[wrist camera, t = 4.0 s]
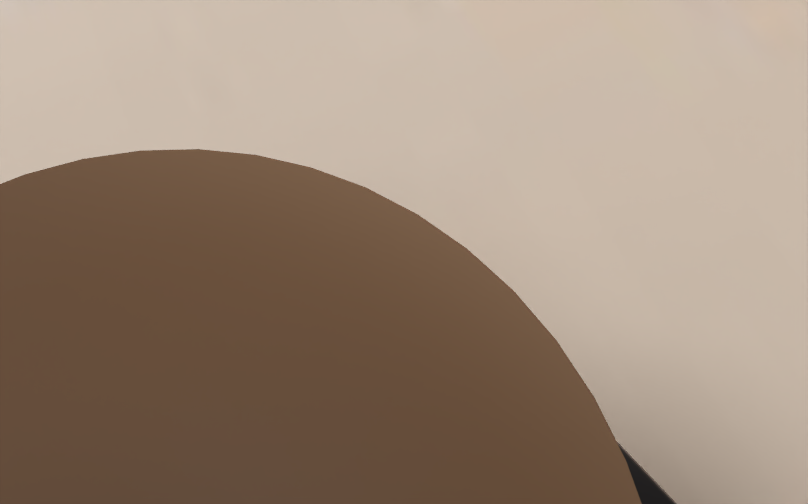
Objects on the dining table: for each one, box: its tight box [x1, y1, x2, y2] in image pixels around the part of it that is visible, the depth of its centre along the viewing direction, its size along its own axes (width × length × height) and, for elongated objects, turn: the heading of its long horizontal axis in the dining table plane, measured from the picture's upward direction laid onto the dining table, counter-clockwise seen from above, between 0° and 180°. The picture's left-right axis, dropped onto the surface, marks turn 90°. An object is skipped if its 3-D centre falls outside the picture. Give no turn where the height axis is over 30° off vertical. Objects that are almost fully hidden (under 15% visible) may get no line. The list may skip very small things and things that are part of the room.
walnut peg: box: [0, 149, 642, 504], centre depth 9 cm, size 5×5×12 cm
